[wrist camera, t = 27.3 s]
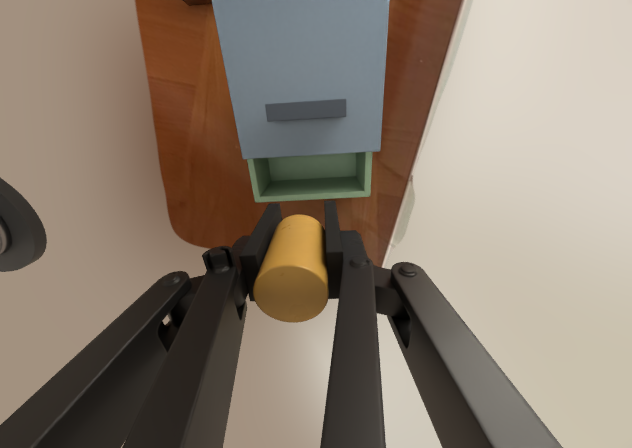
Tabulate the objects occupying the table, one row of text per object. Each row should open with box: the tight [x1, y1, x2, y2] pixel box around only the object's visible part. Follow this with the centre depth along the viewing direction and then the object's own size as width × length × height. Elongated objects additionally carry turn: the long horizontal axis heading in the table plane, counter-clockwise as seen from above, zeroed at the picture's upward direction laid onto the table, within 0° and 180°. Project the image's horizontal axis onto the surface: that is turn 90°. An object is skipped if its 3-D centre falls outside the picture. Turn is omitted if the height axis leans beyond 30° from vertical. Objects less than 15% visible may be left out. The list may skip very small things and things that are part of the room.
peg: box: [253, 215, 329, 322], centre depth 12 cm, size 3×3×5 cm
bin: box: [247, 152, 372, 202], centre depth 31 cm, size 16×15×9 cm
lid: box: [212, 0, 389, 159], centre depth 23 cm, size 17×16×4 cm
